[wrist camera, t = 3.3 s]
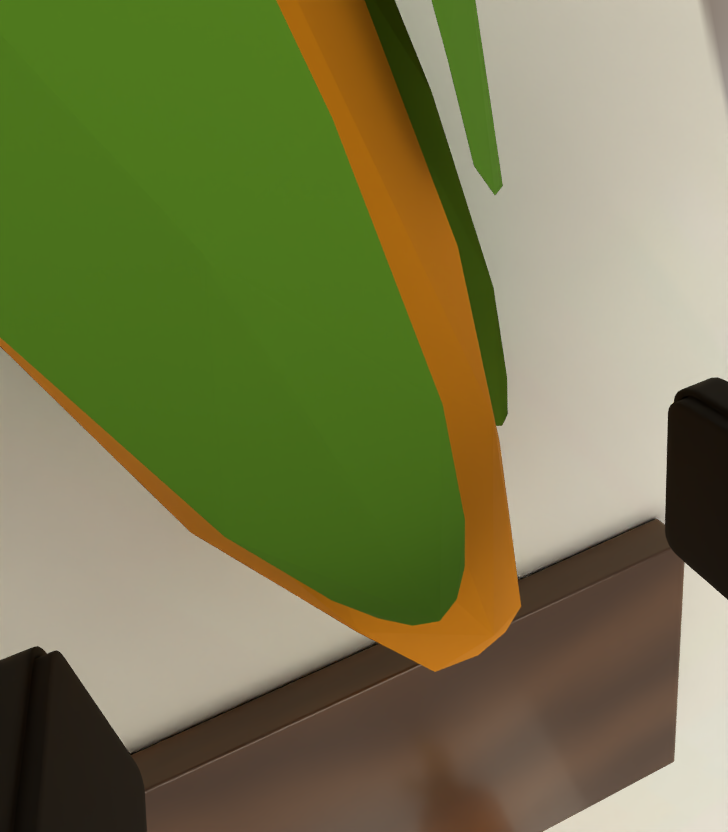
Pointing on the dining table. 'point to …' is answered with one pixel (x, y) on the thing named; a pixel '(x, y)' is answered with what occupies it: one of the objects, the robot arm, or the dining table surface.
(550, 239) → the dining table surface
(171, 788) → the board
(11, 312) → the corn
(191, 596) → the dining table surface
